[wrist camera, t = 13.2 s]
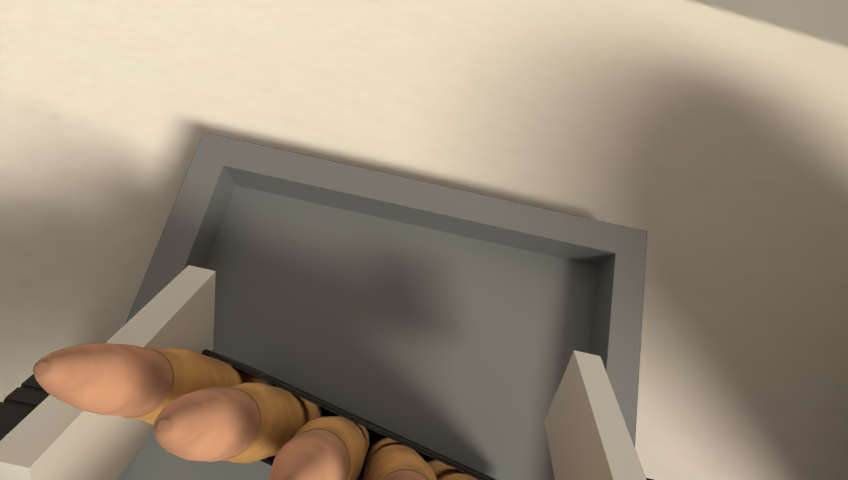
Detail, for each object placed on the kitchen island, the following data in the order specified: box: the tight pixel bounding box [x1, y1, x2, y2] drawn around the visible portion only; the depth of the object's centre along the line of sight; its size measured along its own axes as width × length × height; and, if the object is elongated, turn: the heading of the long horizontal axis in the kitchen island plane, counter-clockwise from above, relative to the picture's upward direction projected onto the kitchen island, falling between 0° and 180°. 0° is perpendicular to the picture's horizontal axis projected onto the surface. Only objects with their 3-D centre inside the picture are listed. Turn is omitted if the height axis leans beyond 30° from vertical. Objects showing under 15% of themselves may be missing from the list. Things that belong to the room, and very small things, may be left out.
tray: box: [116, 132, 647, 480], centre depth 18 cm, size 18×20×2 cm
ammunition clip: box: [33, 343, 496, 480], centre depth 12 cm, size 11×2×12 cm, turn 67°
